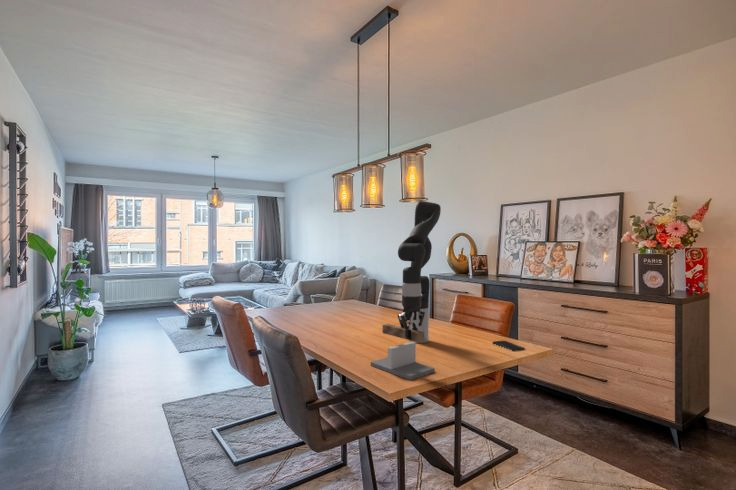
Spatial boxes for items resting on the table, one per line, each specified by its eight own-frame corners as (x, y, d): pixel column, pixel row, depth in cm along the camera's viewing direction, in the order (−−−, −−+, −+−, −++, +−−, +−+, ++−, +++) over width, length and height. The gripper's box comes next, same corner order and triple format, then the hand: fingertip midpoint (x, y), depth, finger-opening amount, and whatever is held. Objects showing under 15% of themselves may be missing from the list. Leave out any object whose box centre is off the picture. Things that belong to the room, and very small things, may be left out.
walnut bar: (382, 333, 163) (382, 324, 163) (387, 331, 165) (387, 323, 165) (418, 342, 148) (418, 333, 148) (424, 341, 150) (424, 332, 150)
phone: (504, 340, 198) (525, 348, 184) (504, 342, 198) (525, 350, 184) (491, 341, 195) (512, 349, 181) (491, 344, 195) (512, 352, 181)
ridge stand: (370, 365, 160) (370, 342, 160) (394, 358, 169) (394, 337, 169) (410, 380, 144) (410, 354, 143) (434, 371, 153) (434, 347, 153)
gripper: (416, 291, 160) (416, 333, 160) (392, 294, 150) (391, 339, 151) (430, 293, 154) (430, 337, 154) (406, 297, 145) (406, 343, 145)
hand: (411, 338), depth 152 cm, fingers closed on walnut bar, 3 cm apart
